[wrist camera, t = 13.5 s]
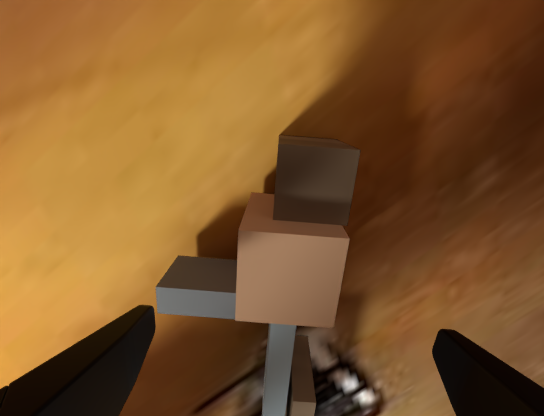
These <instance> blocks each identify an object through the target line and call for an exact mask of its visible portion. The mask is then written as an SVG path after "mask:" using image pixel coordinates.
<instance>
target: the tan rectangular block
mask: <svg viewBox="0 0 544 416" xmlns="http://www.w3.org/2000/svg"><path fill="white" fill-rule="evenodd" d="M274 195H275V194H265V193H251V196H250V198H249V201H248V204H247V207H246V210H245V213H244V215H243V218H242V221H241V224H240V227H239V230H238V253H237V281H236V309H235V321H246V322H259V323H272V324H285V325H298V326H311V327H324V328H334V322H335V317H336V311H337V306H338V300H339V295H340V289H341V284H342V278H343V273H344V267H345V262H346V256H347V251H348V245H349V240H350V238H349V237H348V235H347V233H346V231H345V230H344V228H343V226H342V225H332V224H319V223H306V222H293V221H280V220H273V209H274Z"/></svg>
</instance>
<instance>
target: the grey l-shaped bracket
mask: <svg viewBox="0 0 544 416" xmlns="http://www.w3.org/2000/svg"><path fill="white" fill-rule="evenodd" d="M236 281H237V260H229V259H216V258H203V257H190V256H178V257H177V258H176V259H175V261H174V262H173V264H172V265H171V266H170V268H169V269H168V271H167V272H166V273H165V275H164V276H163V277H162V279H161V280H160V282H159V283H158V284H157V286H156V297H157V310H158V313H162V314H174V315H187V316H200V317H212V318H225V319H235V309H236ZM295 332H296V325H285V324H272V323H269V328H268V340H267V352H266V363H265V375H264V392H263V408H262V416H285V411H286V403H287V395H288V387H289V379H290V371H291V363H292V356H293V348H294V340H295Z"/></svg>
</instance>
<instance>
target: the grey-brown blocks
mask: <svg viewBox="0 0 544 416" xmlns="http://www.w3.org/2000/svg"><path fill="white" fill-rule="evenodd" d="M359 156H360V150H359V149H357V148H355V147H352V146H350V145H348V144H346V143H343V142H341V141H339V140H337V139H324V138H311V137H298V136H285V135H279V143H278V156H277V169H276V181H275V195H274V209H273V220H280V221H293V222H306V223H319V224H332V225H344V226H347V224H348V219H349V213H350V207H351V202H352V196H353V190H354V185H355V179H356V173H357V168H358V162H359ZM315 407H316V398H315V390H314V382H313V374H312V366H311V358H310V350H309V342H308V337H307V336H295V340H294V348H293V356H292V363H291V371H290V379H289V387H288V395H287V403H286V411H285V416H314V412H315Z"/></svg>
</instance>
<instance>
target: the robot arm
mask: <svg viewBox="0 0 544 416" xmlns="http://www.w3.org/2000/svg"><path fill="white" fill-rule="evenodd" d="M154 333H155V315H154V308H153V306H150V305H139V306H137V307H135V308H133V309H132V310H130V311H128V312H127V313H125V314H124V315H122V316H120V317H119V318H117V319H115V320H114V321H112V322H110V323H109V324H107V325H105V326H104V327H102V328H100V329H99V330H97V331H95V332H94V333H92V334H91V335H89V336H87V337H86V338H84V339H82V340H81V341H79V342H77V343H76V344H74V345H72V346H71V347H69V348H67V349H66V350H64V351H62V352H61V353H59V354H58V355H56V356H54V357H53V358H51V359H49V360H48V361H46V362H44V363H43V364H41V365H39V366H38V367H36V368H34V369H33V370H31V371H29V372H28V373H26V374H25V375H23V376H21V377H20V378H18V379H16V380H15V381H13V382H11V383H10V384H9V386H5V387H3V388H1V389H0V416H119V414H120V412H121V410H122V408H123V406H124V404H125V402H126V400H127V398H128V396H129V394H130V392H131V390H132V388H133V386H134V384H135V382H136V379H137V377H138V374H139V372H140V369H141V367H142V364H143V362H144V359H145V357H146V354H147V351H148V349H149V346H150V344H151V341H152V339H153V336H154ZM432 354H433V358H434V361H435V363H436V366H437V369H438V371H439V374H440V376H441V379H442V382H443V384H444V387H445V389H446V392H447V394H448V397H449V400H450V402H451V404H452V407H453V409H454V412H455V414H456V416H544V388H543V387H541V386H540V385H538V384H537V383H535V382H534V381H532V380H531V379H529V378H527V377H526V376H524V375H523V374H521V373H520V372H518V371H517V370H515V369H514V368H512V367H511V366H509V365H508V364H506V363H505V362H503V361H501V360H500V359H498V358H497V357H495V356H494V355H492V354H491V353H489V352H488V351H486V350H485V349H483V348H482V347H480V346H478V345H477V344H475V343H474V342H472V341H471V340H469V339H468V338H466V337H465V336H463V335H462V334H460V333H459V332H457V331H455V330H451V329H440V330H439V331H438V334H437V337H436V340H435V342H434V345H433V349H432Z"/></svg>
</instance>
